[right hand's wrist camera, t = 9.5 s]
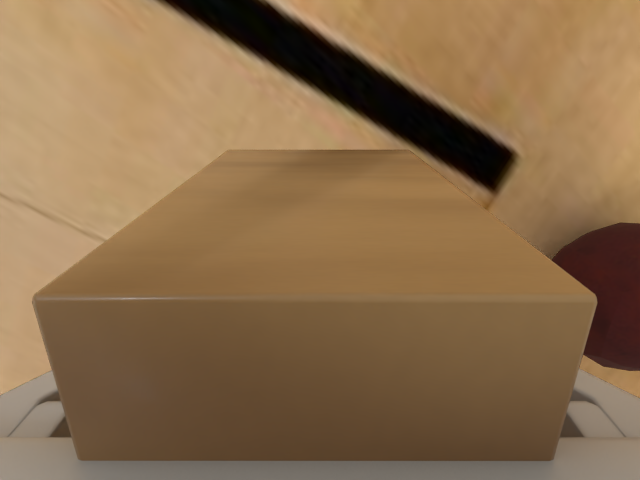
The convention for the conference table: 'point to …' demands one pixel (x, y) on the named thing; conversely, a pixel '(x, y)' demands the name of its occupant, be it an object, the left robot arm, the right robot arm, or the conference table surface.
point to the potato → (609, 291)
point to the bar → (315, 321)
